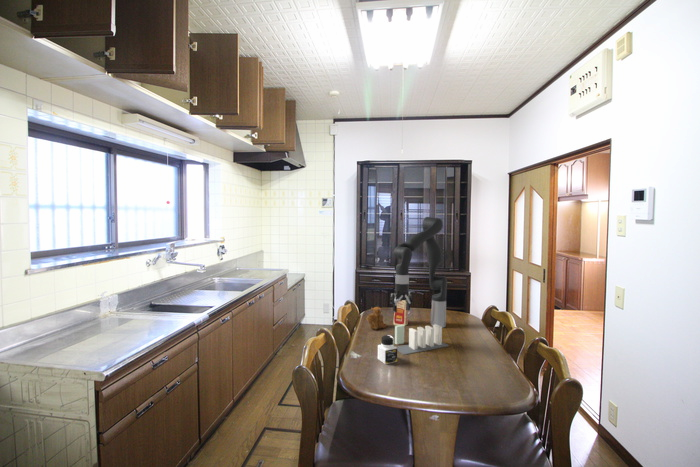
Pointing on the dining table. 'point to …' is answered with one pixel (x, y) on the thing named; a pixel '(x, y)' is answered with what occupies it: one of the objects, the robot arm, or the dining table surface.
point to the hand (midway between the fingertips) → (401, 310)
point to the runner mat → (418, 348)
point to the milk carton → (401, 314)
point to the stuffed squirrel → (376, 319)
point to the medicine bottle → (387, 350)
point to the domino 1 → (399, 334)
